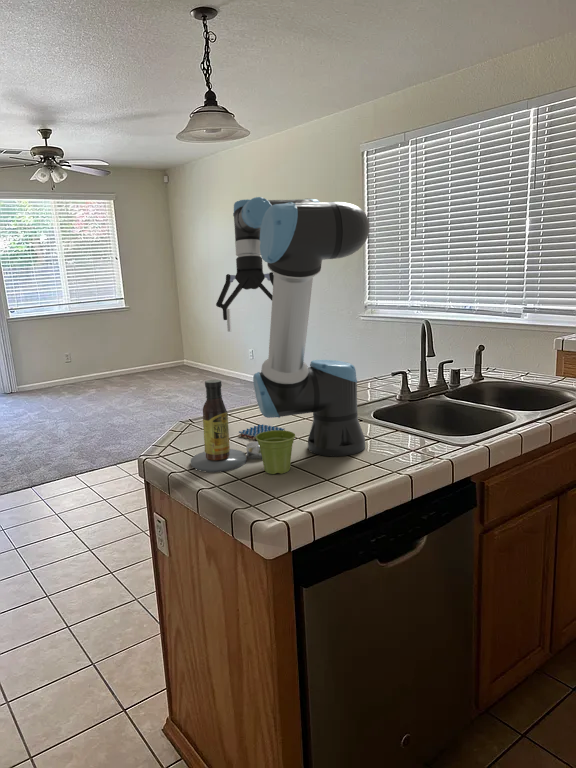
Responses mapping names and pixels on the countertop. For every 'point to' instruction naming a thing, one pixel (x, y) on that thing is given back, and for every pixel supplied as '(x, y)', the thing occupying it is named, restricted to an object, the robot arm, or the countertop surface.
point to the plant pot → (276, 450)
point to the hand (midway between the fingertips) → (252, 330)
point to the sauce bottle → (215, 423)
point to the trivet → (219, 462)
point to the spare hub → (253, 450)
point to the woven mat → (257, 431)
